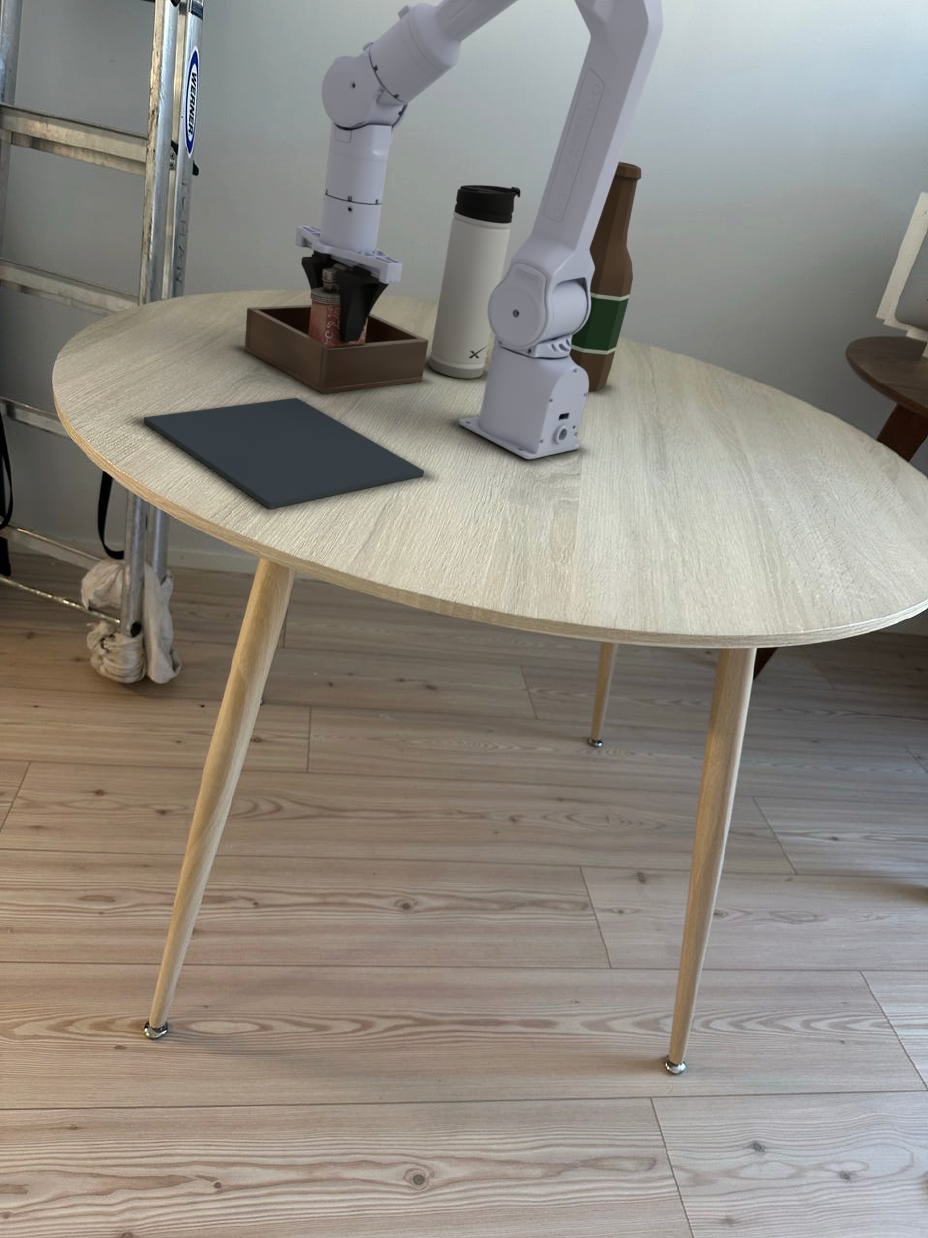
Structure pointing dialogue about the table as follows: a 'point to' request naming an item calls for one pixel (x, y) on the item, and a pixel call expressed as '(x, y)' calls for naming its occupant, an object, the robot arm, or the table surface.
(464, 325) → the travel mug
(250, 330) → the brown wooden tray
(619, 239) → the beer bottle
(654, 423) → the table surface
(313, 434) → the mat
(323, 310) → the lighter
